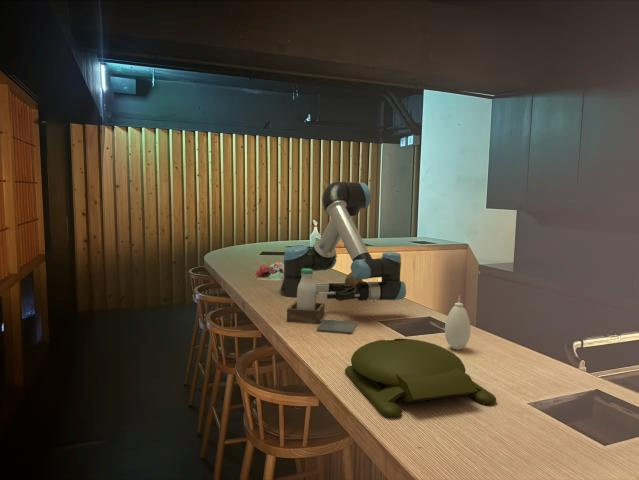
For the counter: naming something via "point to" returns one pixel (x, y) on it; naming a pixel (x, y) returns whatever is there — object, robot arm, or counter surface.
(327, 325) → the slate tile
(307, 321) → the walnut caddy
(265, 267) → the candy landscape model
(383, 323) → the counter surface
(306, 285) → the milk bottle
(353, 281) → the natural sponge
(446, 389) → the spaceship
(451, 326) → the grey air blower bulb
